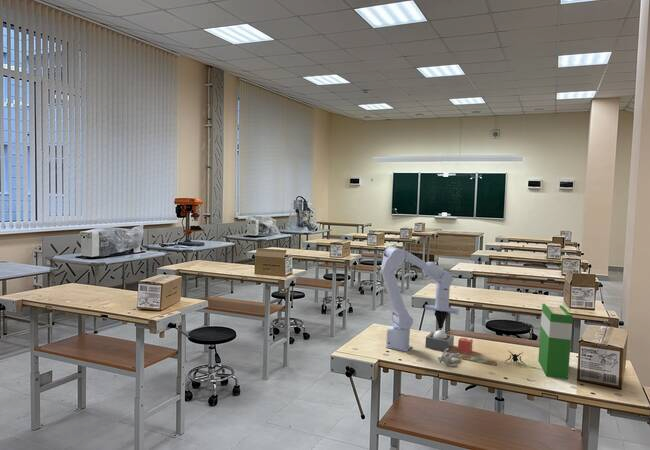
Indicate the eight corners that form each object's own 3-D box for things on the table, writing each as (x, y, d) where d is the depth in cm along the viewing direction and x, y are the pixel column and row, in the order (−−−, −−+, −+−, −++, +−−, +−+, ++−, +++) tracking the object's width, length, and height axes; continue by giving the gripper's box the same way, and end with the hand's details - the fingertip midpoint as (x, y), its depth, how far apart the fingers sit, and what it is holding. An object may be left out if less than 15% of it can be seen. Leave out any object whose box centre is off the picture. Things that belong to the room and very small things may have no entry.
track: (445, 355, 191) (445, 354, 191) (447, 353, 194) (447, 352, 194) (495, 365, 182) (495, 364, 182) (496, 362, 185) (496, 361, 185)
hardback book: (538, 360, 190) (542, 303, 188) (557, 363, 188) (562, 305, 186) (546, 376, 173) (550, 313, 171) (567, 379, 171) (572, 316, 169)
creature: (525, 371, 180) (525, 361, 187) (526, 359, 178) (526, 349, 185) (504, 368, 183) (504, 357, 190) (505, 356, 181) (505, 346, 188)
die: (457, 351, 197) (458, 339, 196) (460, 348, 201) (460, 337, 201) (469, 354, 194) (470, 342, 194) (471, 350, 199) (472, 339, 198)
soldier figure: (466, 366, 183) (452, 363, 174) (456, 372, 185) (442, 369, 176) (456, 348, 187) (443, 345, 179) (447, 354, 189) (433, 351, 181)
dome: (430, 343, 201) (431, 330, 201) (434, 339, 207) (434, 327, 207) (445, 346, 198) (446, 333, 198) (448, 342, 204) (449, 329, 204)
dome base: (425, 347, 201) (425, 337, 201) (431, 341, 210) (431, 331, 209) (448, 351, 196) (448, 341, 196) (453, 345, 205) (454, 335, 205)
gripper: (461, 298, 202) (459, 328, 203) (428, 293, 208) (427, 323, 209) (457, 301, 195) (455, 332, 196) (424, 296, 202) (422, 326, 203)
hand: (440, 327), depth 202 cm, fingers closed
